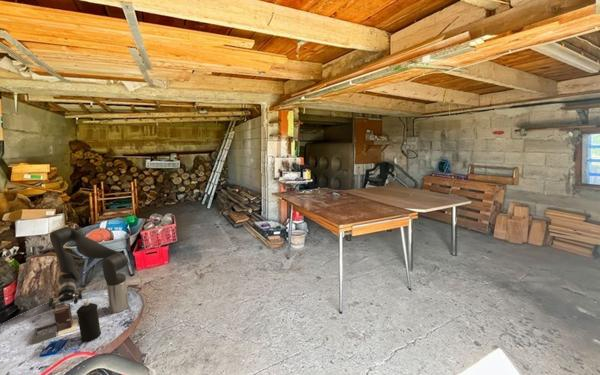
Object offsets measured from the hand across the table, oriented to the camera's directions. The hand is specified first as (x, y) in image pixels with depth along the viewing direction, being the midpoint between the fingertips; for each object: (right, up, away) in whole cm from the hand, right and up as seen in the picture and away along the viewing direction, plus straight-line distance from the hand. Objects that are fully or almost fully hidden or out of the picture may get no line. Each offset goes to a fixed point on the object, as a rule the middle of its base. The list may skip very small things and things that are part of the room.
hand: (64, 305), depth 147 cm
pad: (+7, -9, -6) cm, 12 cm away
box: (+6, -9, -6) cm, 12 cm away
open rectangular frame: (0, -10, -10) cm, 14 cm away
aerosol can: (+23, -11, -11) cm, 28 cm away
